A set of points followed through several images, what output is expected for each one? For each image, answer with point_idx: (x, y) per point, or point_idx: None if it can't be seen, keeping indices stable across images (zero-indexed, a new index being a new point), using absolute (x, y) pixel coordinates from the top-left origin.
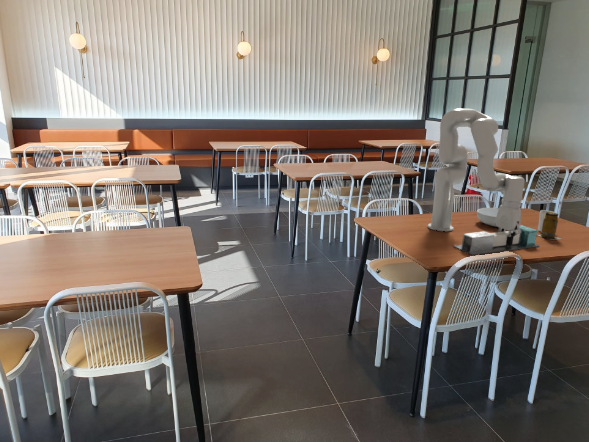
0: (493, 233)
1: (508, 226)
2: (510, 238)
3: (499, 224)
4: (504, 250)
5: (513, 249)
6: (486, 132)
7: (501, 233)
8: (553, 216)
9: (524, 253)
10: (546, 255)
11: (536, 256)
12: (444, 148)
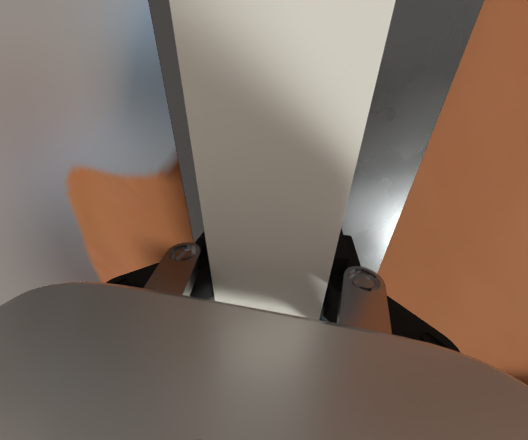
0: (334, 80)
1: (18, 365)
2: (197, 242)
3: (381, 410)
4: (167, 92)
5: (186, 193)
6: None
7: (272, 229)
8: None
9: (129, 202)
10: (106, 269)
11: (86, 218)
12: None
